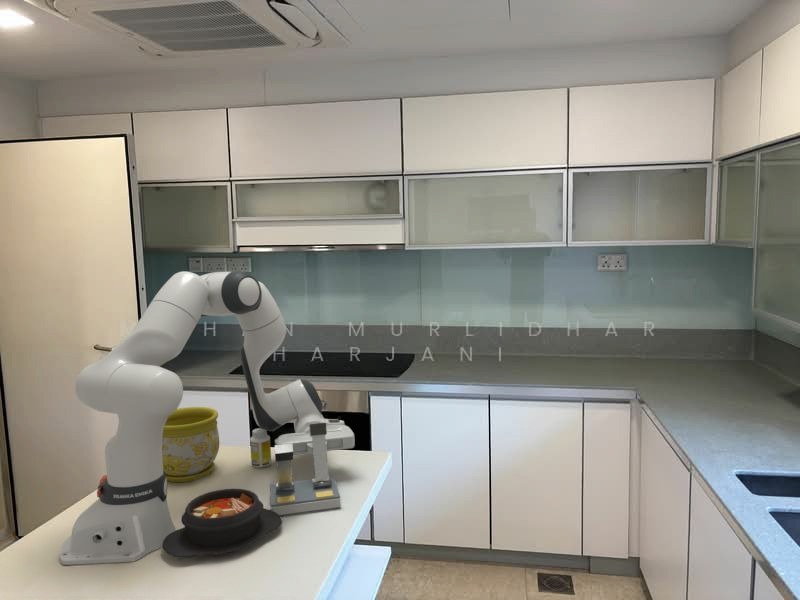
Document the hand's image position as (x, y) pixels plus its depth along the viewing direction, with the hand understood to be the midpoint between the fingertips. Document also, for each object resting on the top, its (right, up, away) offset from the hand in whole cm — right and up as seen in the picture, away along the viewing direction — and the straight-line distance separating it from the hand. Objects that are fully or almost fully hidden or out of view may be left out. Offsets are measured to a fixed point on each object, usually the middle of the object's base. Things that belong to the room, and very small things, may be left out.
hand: (319, 452), depth 150 cm
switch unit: (-3, -11, -4) cm, 12 cm away
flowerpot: (-39, -10, +16) cm, 43 cm away
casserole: (-18, -14, -21) cm, 31 cm away
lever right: (+1, -7, -3) cm, 8 cm away
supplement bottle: (-19, -9, +21) cm, 30 cm away
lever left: (-8, -7, -5) cm, 12 cm away
